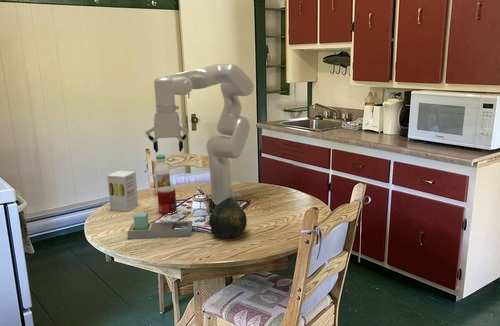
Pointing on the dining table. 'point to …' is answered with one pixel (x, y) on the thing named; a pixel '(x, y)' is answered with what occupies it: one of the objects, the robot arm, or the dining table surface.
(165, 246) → the dining table surface
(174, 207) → the canned food
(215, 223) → the squash
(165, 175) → the milk bottle
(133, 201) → the supplement box
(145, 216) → the peg
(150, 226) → the grey peg hole board
